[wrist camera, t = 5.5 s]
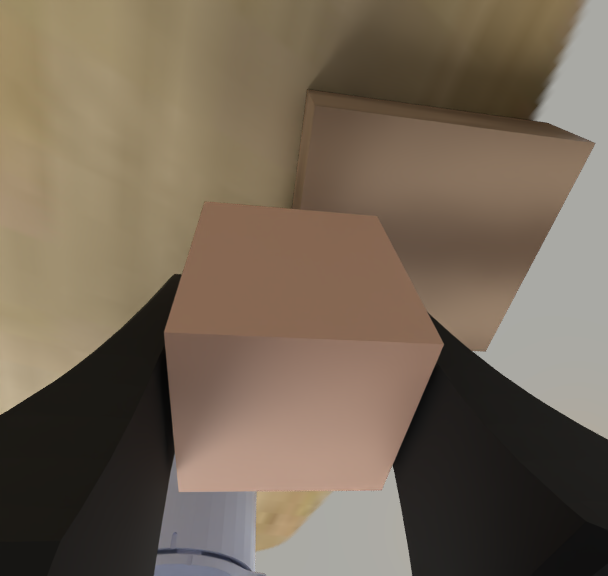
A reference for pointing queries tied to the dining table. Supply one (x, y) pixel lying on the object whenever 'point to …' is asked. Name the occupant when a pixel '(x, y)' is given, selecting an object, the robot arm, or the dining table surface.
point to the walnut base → (442, 195)
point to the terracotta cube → (293, 352)
